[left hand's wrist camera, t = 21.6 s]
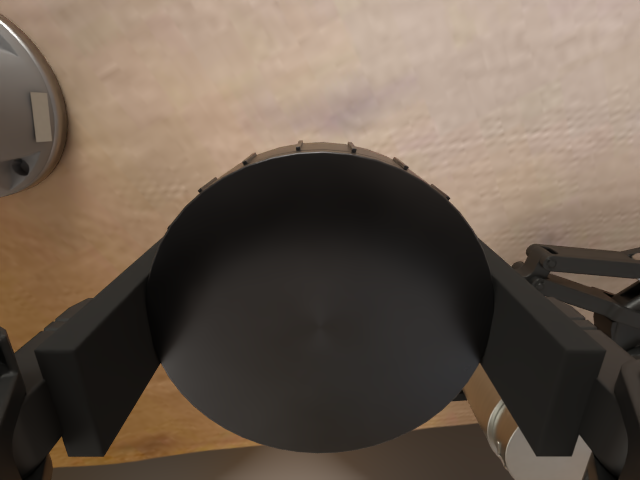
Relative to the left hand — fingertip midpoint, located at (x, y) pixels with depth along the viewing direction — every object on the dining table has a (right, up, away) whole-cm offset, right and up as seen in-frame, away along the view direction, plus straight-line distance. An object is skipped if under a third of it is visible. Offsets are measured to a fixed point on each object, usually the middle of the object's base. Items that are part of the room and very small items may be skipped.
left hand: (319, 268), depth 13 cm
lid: (0, -1, -3) cm, 3 cm away
